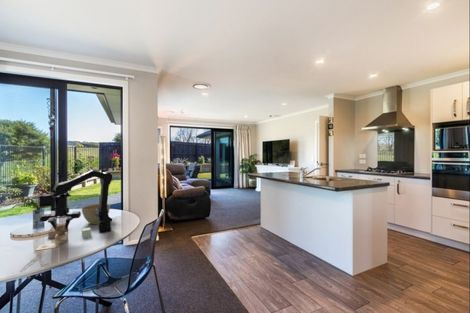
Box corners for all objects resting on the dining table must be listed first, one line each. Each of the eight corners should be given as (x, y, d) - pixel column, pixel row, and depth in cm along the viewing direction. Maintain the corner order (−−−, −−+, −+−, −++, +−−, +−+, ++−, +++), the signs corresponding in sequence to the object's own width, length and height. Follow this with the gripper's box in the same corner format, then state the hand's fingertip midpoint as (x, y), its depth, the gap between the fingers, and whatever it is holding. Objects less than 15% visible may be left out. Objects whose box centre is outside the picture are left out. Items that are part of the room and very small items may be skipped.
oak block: (67, 239, 138) (67, 232, 138) (65, 242, 133) (65, 235, 133) (57, 240, 136) (57, 233, 136) (55, 243, 131) (54, 236, 131)
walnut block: (66, 230, 137) (66, 223, 137) (64, 233, 133) (64, 225, 133) (58, 231, 136) (57, 224, 135) (55, 234, 132) (55, 226, 131)
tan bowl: (115, 219, 178) (115, 204, 177) (99, 227, 160) (99, 210, 159) (93, 218, 180) (93, 203, 179) (75, 226, 162) (75, 209, 161)
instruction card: (59, 243, 132) (59, 242, 132) (55, 247, 126) (55, 247, 126) (39, 245, 128) (39, 245, 128) (35, 250, 122) (35, 250, 122)
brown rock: (64, 236, 143) (64, 229, 143) (47, 239, 139) (47, 231, 138) (68, 228, 157) (68, 222, 157) (53, 230, 153) (53, 223, 153)
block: (90, 234, 146) (89, 227, 146) (91, 236, 143) (90, 229, 143) (81, 236, 144) (81, 229, 143) (82, 238, 140) (82, 231, 140)
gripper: (82, 200, 145) (82, 224, 146) (46, 203, 138) (46, 228, 138) (78, 204, 135) (79, 230, 136) (39, 207, 127) (39, 234, 128)
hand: (61, 230), depth 135 cm, fingers closed on walnut block, 4 cm apart
